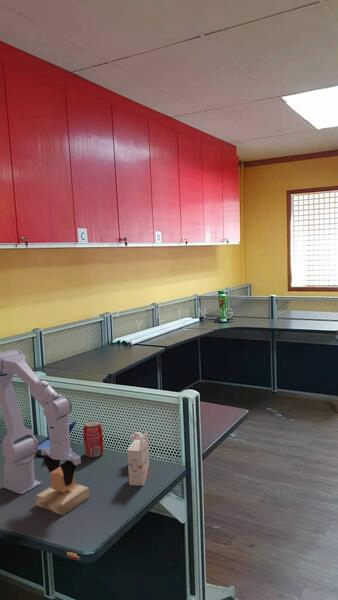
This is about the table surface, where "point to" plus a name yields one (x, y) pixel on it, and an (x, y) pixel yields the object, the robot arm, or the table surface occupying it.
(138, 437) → the white figurine
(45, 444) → the handheld game console
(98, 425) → the soda can
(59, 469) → the orange cube
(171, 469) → the table surface
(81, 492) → the birch block
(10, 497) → the table surface
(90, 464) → the table surface
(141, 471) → the ink cartridge box
